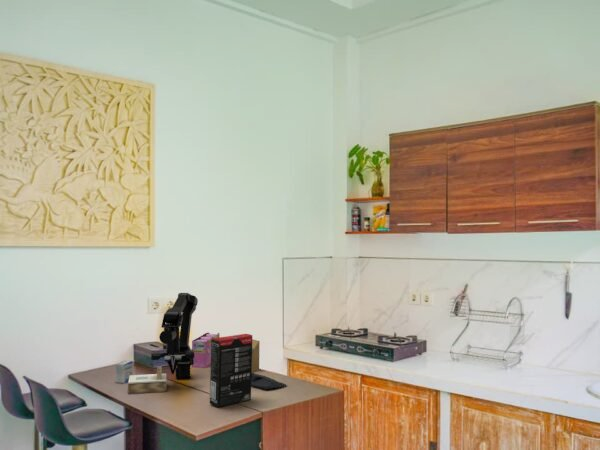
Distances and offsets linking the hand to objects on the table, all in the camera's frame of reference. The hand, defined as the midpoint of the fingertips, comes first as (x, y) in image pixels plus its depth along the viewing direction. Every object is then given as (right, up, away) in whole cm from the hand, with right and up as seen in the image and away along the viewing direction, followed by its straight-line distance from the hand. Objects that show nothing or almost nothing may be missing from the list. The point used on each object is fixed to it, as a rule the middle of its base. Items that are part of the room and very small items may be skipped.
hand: (172, 374), depth 262 cm
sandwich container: (+28, -6, +28) cm, 40 cm away
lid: (-11, -2, -2) cm, 11 cm away
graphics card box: (+29, -7, -21) cm, 36 cm away
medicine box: (-25, -6, +11) cm, 28 cm away
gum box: (+7, -6, +47) cm, 48 cm away
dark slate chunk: (+39, -7, +6) cm, 40 cm away
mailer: (-11, -6, -2) cm, 12 cm away
